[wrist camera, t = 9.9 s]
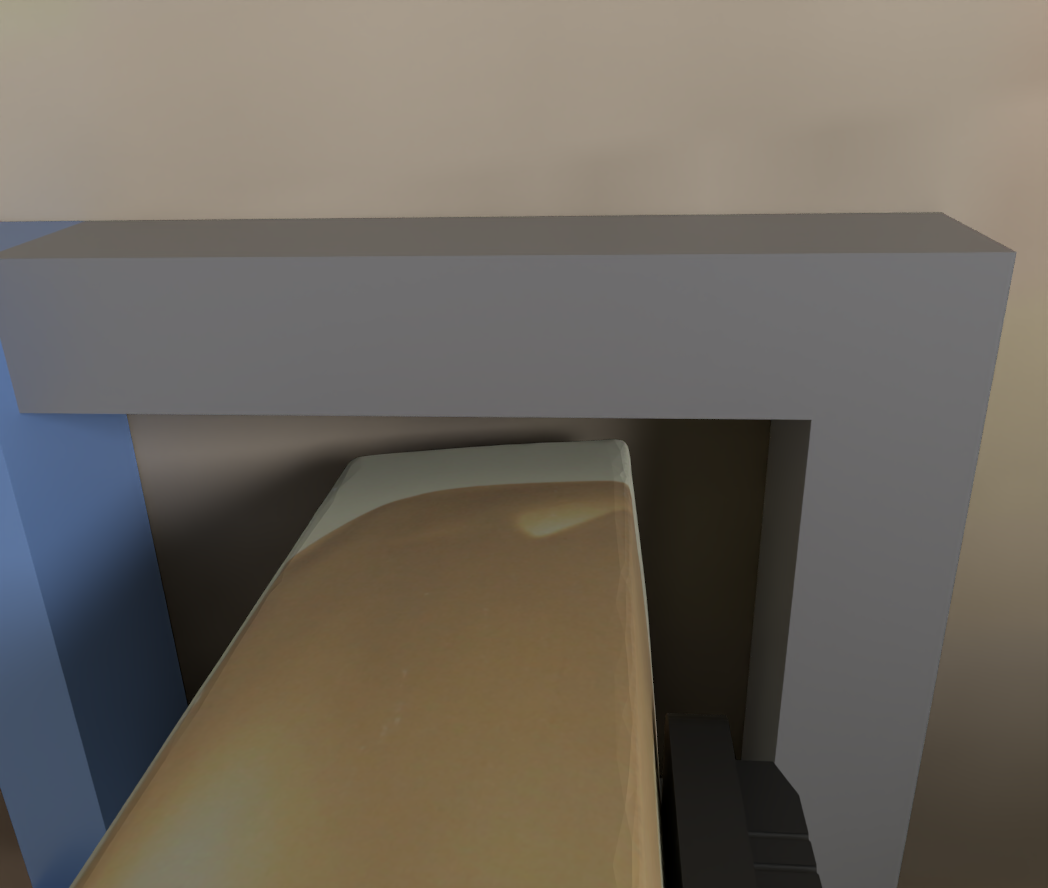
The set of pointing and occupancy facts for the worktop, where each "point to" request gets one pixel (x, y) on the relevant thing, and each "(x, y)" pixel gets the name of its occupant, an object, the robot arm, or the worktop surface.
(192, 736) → the skincare box
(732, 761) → the robot arm
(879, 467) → the rail
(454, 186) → the worktop surface
